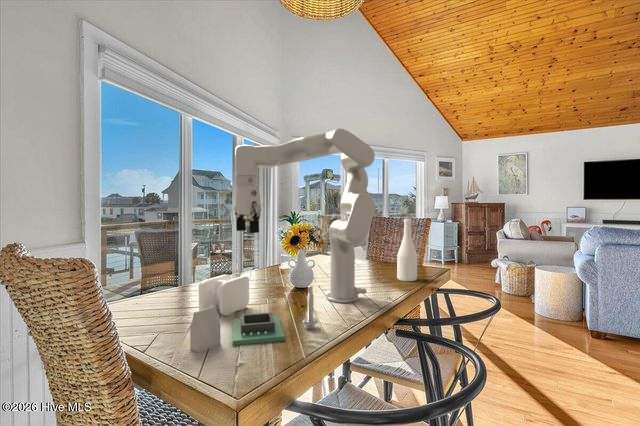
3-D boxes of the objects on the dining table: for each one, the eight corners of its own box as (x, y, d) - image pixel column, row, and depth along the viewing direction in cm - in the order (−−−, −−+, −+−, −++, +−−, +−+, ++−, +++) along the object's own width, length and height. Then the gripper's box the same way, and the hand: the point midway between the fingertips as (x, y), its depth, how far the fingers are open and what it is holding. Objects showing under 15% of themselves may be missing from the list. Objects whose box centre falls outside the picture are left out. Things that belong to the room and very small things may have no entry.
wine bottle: (397, 281, 169) (398, 219, 168) (396, 277, 178) (397, 218, 177) (417, 282, 167) (418, 219, 166) (415, 277, 177) (416, 218, 176)
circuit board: (277, 319, 115) (277, 307, 115) (284, 340, 97) (284, 327, 97) (233, 322, 111) (233, 310, 111) (232, 345, 94) (232, 331, 94)
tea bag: (220, 343, 95) (220, 307, 95) (199, 352, 90) (198, 314, 89) (211, 340, 97) (211, 305, 97) (190, 349, 92) (190, 311, 91)
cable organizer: (221, 319, 114) (221, 284, 114) (197, 314, 119) (197, 280, 118) (249, 307, 128) (249, 275, 127) (226, 303, 132) (226, 272, 132)
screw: (299, 328, 107) (309, 323, 111) (311, 331, 104) (321, 327, 108) (299, 285, 106) (309, 282, 110) (311, 288, 103) (321, 285, 107)
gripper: (269, 181, 116) (269, 232, 116) (245, 183, 129) (245, 229, 130) (249, 180, 111) (249, 234, 112) (225, 182, 124) (226, 230, 125)
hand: (247, 231), depth 121 cm, fingers open, 9 cm apart
